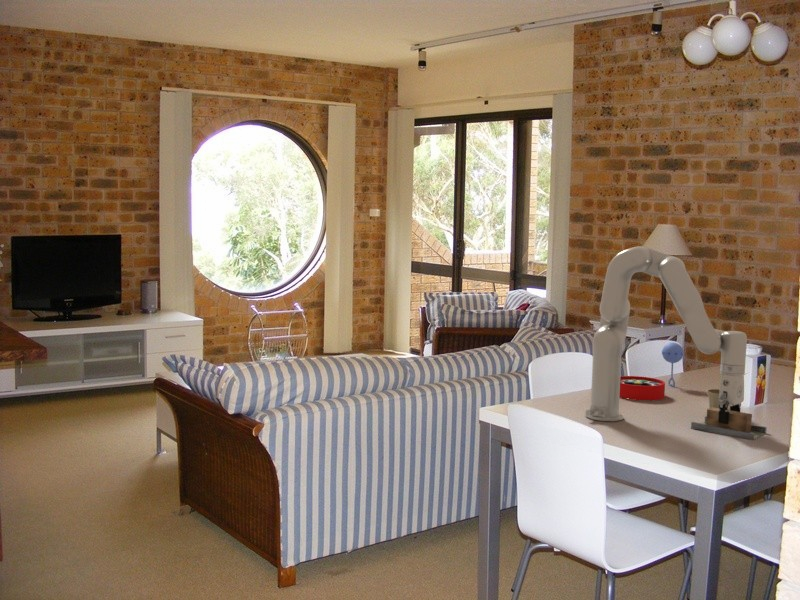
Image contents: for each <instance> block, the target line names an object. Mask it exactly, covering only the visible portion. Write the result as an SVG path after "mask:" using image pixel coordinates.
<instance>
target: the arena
mask: <svg viewBox="0 0 800 600" xmlns="http://www.w3.org/2000/svg"><path fill="white" fill-rule="evenodd" d="M706 420H707V415H706V416H705V417H704V421H703V422H696V421H691V423H690V424H691V425H690V428H691V429H693V430H698V431H704V432H709V433H713V434H714V433H715V434H719V435H724V436H730V437H735V438H739V439H740V438H741V439H745V440H746V439H747V440H751V441H753V440H755V439H758V438H760V437H761V436H763V435H765V434H767V426H764V425H759V424H758V425H756V424H752V423H751V432H746V431H740V430H735V429H730V428H724V427H719V426H713V425H708V424H706Z"/></svg>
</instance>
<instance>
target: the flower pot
mask: <svg viewBox="0 0 800 600" xmlns="http://www.w3.org/2000/svg"><path fill="white" fill-rule="evenodd" d="M719 391H720V388H719V389H718V388H709V389H706V393H707V397H708V409H710V408H712V407H714V408H719ZM725 406H726V407H727V405H725ZM730 406H732V405H730ZM729 410H730V408H729Z"/></svg>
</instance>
